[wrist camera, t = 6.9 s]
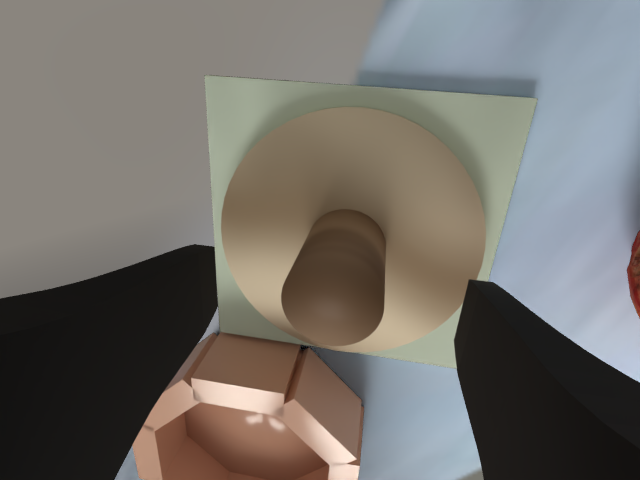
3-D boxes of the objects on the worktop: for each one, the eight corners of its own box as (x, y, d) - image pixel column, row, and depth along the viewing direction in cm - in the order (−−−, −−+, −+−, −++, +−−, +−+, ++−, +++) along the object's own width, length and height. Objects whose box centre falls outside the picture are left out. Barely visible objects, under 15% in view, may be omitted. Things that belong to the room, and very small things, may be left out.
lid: (450, 360, 16) (470, 458, 12) (229, 322, 17) (179, 400, 13) (515, 121, 12) (578, 146, 8) (224, 93, 13) (151, 103, 9)
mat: (461, 363, 16) (463, 369, 16) (223, 326, 18) (219, 331, 17) (533, 97, 12) (538, 98, 12) (209, 75, 13) (204, 75, 13)
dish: (350, 499, 21) (345, 563, 18) (176, 464, 22) (147, 519, 19) (371, 353, 17) (368, 408, 14) (157, 320, 18) (115, 365, 15)
